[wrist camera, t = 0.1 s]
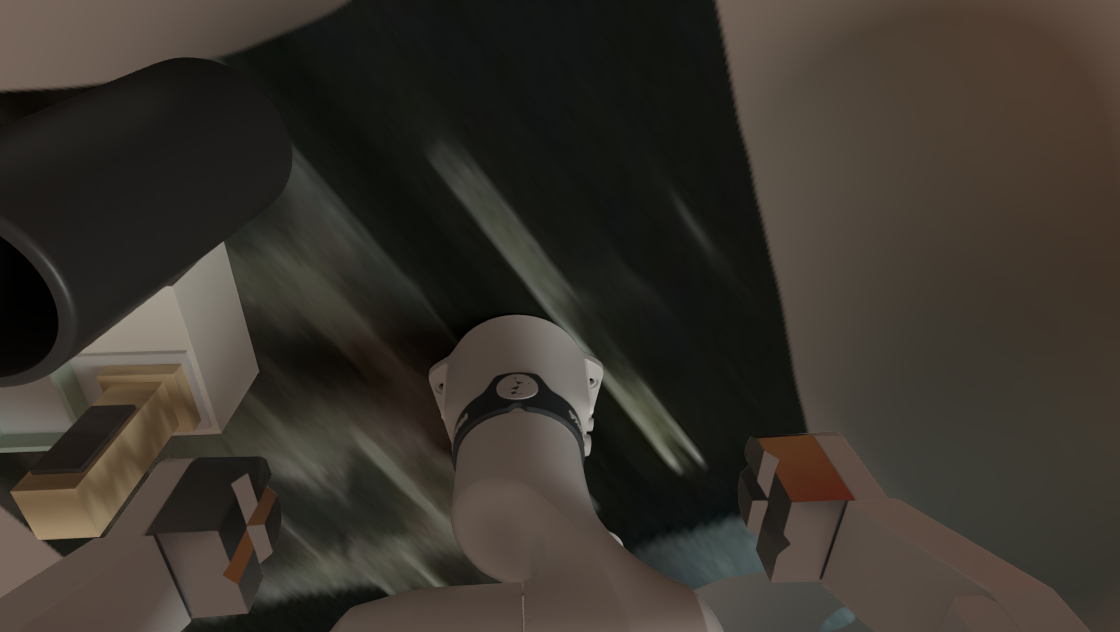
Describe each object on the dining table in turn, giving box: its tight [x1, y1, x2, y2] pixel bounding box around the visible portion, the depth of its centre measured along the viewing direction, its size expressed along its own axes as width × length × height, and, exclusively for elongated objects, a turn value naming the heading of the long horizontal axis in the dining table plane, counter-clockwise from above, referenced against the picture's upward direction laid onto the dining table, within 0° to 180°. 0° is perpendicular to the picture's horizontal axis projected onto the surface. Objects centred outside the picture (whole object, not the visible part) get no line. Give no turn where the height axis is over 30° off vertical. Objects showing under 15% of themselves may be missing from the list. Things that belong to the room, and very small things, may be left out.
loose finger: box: [10, 364, 201, 540], centre depth 47 cm, size 6×6×14 cm
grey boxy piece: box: [0, 242, 259, 453], centre depth 50 cm, size 15×19×24 cm
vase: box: [0, 57, 292, 388], centre depth 41 cm, size 14×14×29 cm
